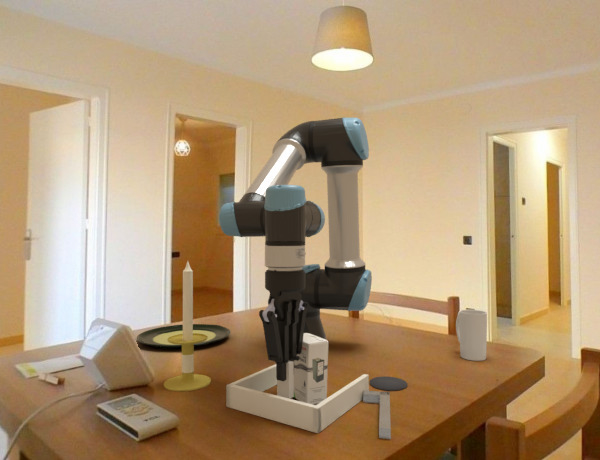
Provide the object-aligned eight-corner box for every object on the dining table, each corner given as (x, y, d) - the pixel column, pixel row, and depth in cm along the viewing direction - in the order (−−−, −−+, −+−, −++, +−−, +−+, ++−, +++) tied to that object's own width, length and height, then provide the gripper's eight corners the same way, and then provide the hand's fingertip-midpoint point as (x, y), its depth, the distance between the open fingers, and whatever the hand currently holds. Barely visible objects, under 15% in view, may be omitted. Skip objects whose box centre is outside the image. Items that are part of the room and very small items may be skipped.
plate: (181, 327, 150) (181, 320, 150) (248, 336, 138) (248, 328, 138) (115, 346, 125) (115, 338, 125) (189, 358, 113) (189, 349, 113)
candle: (188, 372, 100) (188, 257, 100) (220, 380, 95) (220, 258, 95) (153, 385, 92) (153, 259, 92) (187, 394, 86) (187, 261, 87)
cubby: (226, 406, 80) (226, 385, 80) (287, 376, 97) (287, 359, 97) (317, 433, 69) (317, 408, 69) (368, 394, 86) (368, 374, 86)
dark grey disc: (363, 385, 91) (363, 384, 91) (378, 375, 98) (378, 374, 98) (399, 393, 87) (399, 392, 87) (412, 382, 93) (412, 380, 93)
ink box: (284, 392, 87) (286, 333, 88) (304, 388, 90) (306, 331, 90) (306, 406, 80) (308, 342, 80) (328, 401, 83) (330, 340, 83)
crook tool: (358, 437, 68) (358, 426, 68) (363, 399, 84) (363, 390, 84) (390, 440, 68) (390, 428, 68) (389, 401, 83) (389, 392, 83)
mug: (493, 360, 110) (492, 313, 110) (471, 362, 108) (470, 314, 108) (467, 350, 119) (466, 307, 120) (446, 352, 117) (446, 308, 118)
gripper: (281, 272, 72) (281, 413, 72) (320, 267, 83) (320, 389, 83) (246, 270, 76) (246, 403, 76) (288, 265, 87) (288, 382, 87)
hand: (285, 396), depth 79 cm, fingers closed
